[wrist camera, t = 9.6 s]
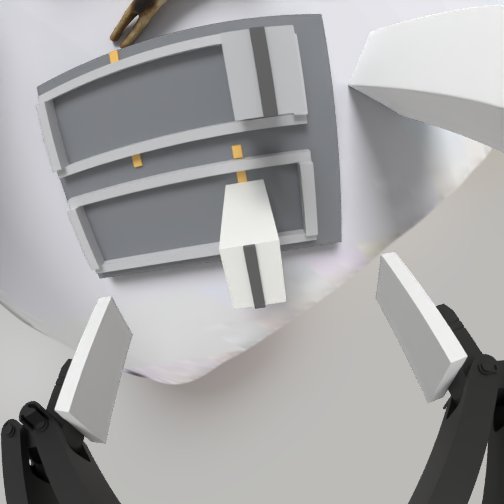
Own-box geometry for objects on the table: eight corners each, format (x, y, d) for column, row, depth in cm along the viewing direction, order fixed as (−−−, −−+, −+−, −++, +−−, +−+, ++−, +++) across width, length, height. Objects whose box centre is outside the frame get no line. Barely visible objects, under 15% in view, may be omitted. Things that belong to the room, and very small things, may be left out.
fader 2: (234, 229, 26) (233, 311, 17) (225, 185, 24) (218, 251, 15) (269, 224, 25) (286, 303, 17) (263, 179, 23) (279, 242, 15)
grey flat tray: (106, 267, 30) (95, 286, 27) (48, 85, 19) (27, 88, 16) (335, 231, 29) (346, 249, 26) (315, 19, 18) (326, 10, 16)
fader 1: (236, 107, 20) (235, 121, 12) (227, 57, 18) (219, 32, 10) (276, 101, 20) (306, 112, 12) (268, 51, 18) (293, 23, 9)
